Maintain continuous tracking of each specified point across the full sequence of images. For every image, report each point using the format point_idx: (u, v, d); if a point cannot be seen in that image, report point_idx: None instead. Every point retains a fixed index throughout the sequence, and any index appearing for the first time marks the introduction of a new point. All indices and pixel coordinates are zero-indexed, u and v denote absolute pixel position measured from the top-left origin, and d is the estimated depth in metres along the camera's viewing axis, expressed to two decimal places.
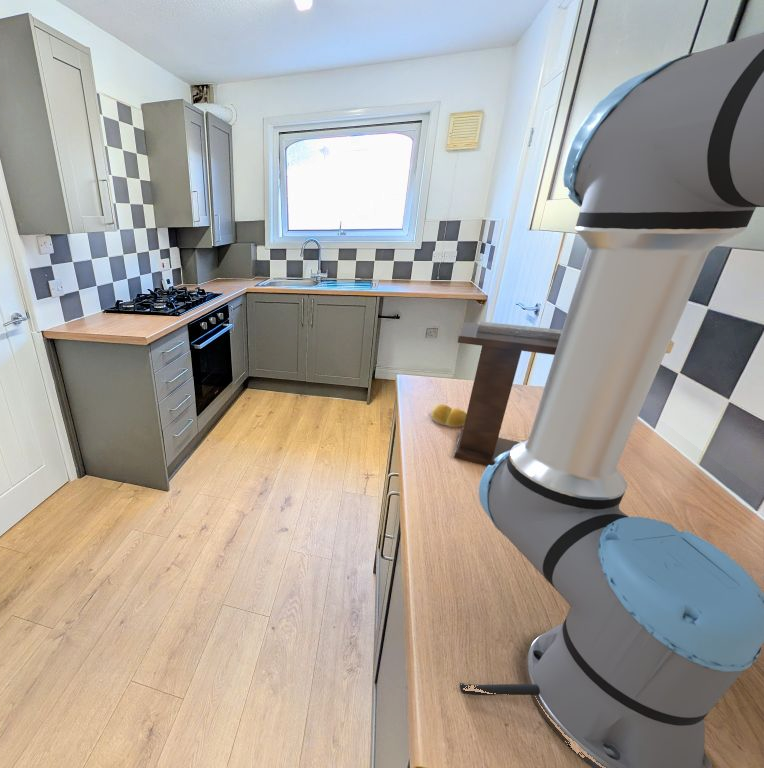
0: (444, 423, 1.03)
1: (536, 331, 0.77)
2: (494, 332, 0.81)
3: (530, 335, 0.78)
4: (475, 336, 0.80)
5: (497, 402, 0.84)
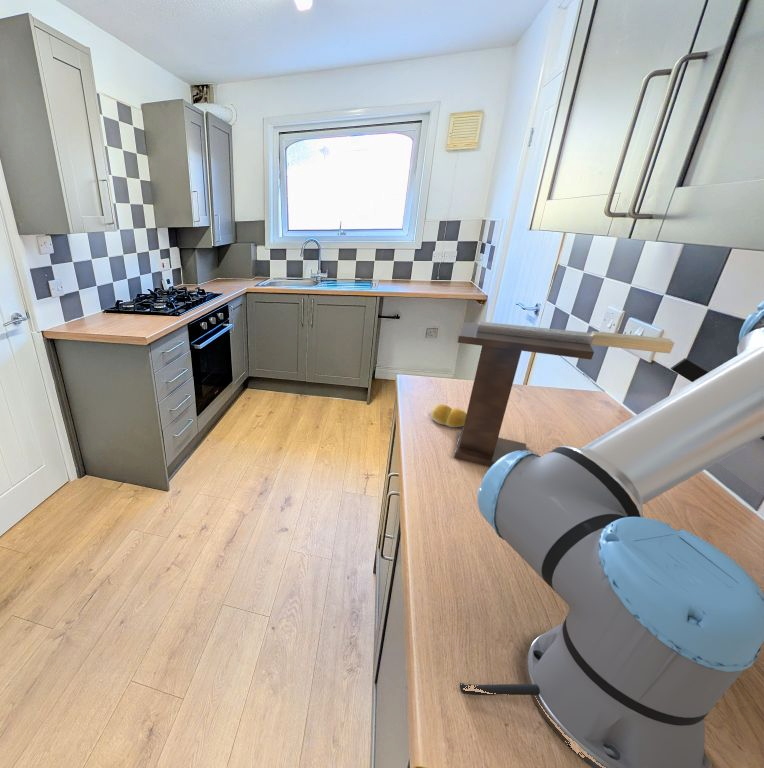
0: (444, 423, 1.03)
1: (536, 331, 0.77)
2: (494, 332, 0.81)
3: (530, 335, 0.78)
4: (475, 336, 0.80)
5: (497, 402, 0.84)
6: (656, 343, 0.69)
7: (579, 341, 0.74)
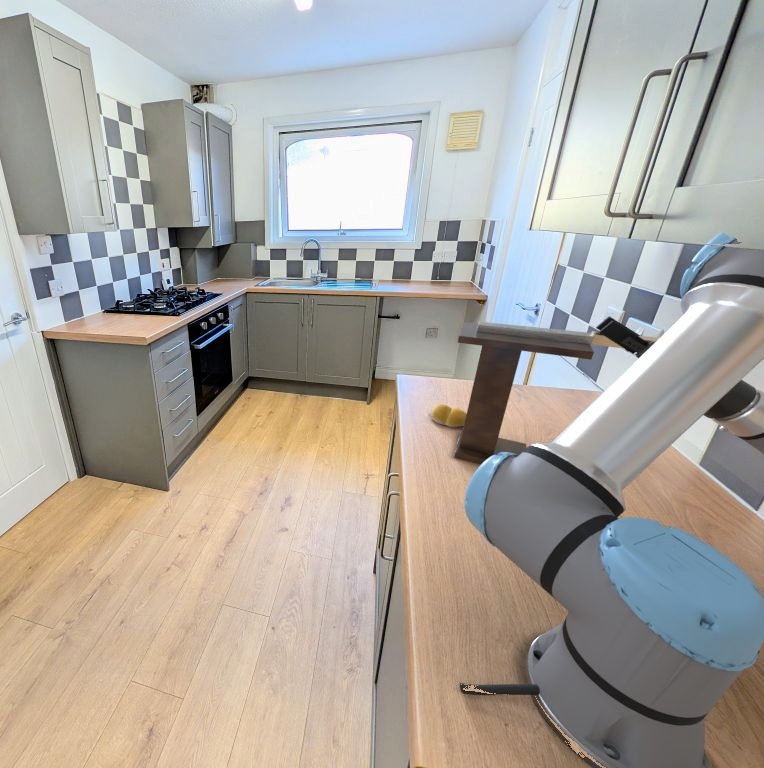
0: (444, 423, 1.03)
1: (536, 331, 0.77)
2: (494, 332, 0.81)
3: (530, 335, 0.78)
4: (475, 336, 0.80)
5: (497, 402, 0.84)
6: None
7: (579, 341, 0.74)
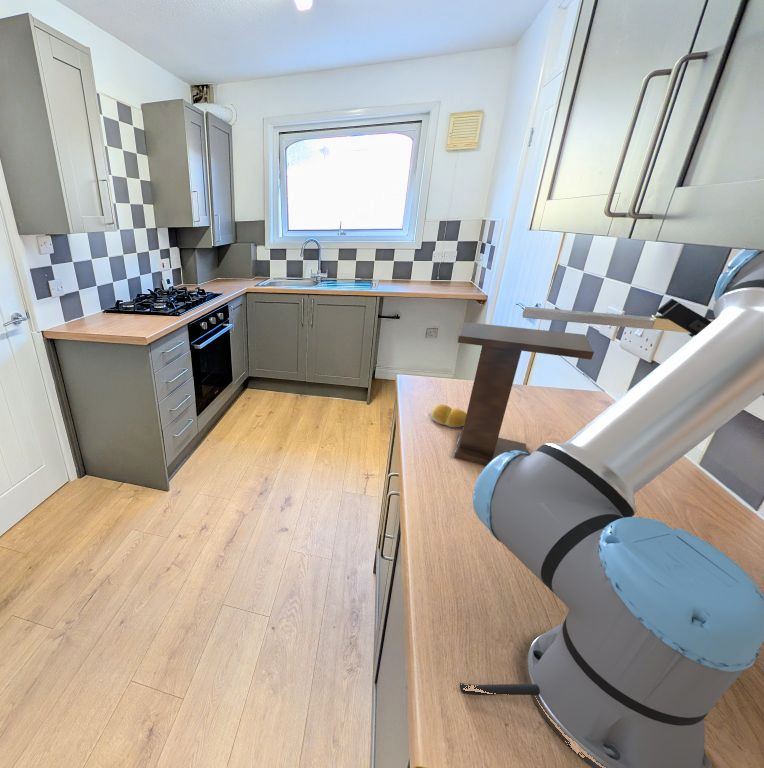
0: (444, 423, 1.03)
1: (590, 316, 0.72)
2: (542, 317, 0.75)
3: (583, 320, 0.72)
4: (475, 336, 0.80)
5: (497, 402, 0.84)
6: None
7: (639, 326, 0.69)
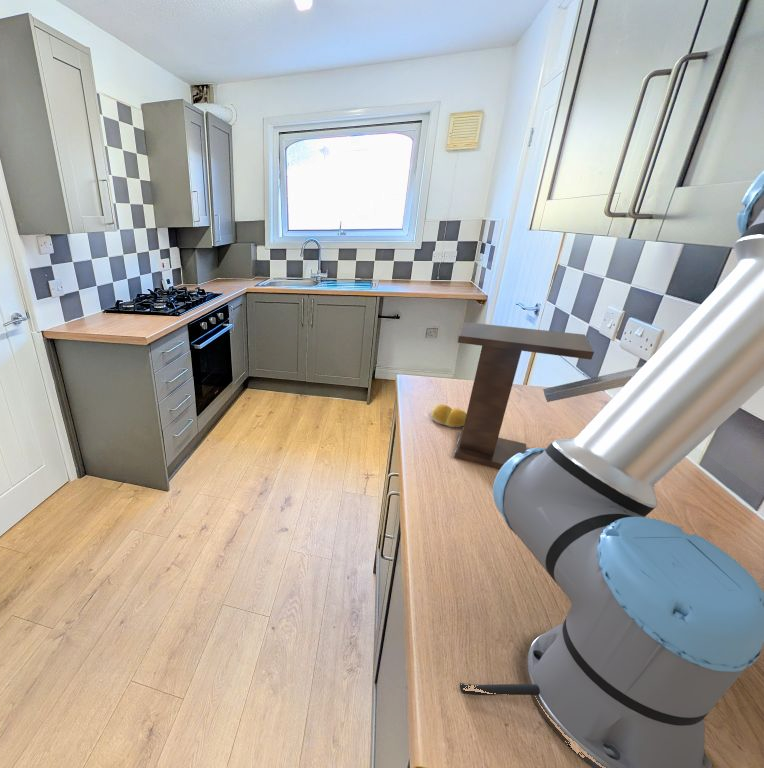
0: (444, 423, 1.03)
1: (618, 379, 0.65)
2: (568, 396, 0.69)
3: (613, 385, 0.65)
4: (475, 336, 0.80)
5: (497, 402, 0.84)
6: None
7: None
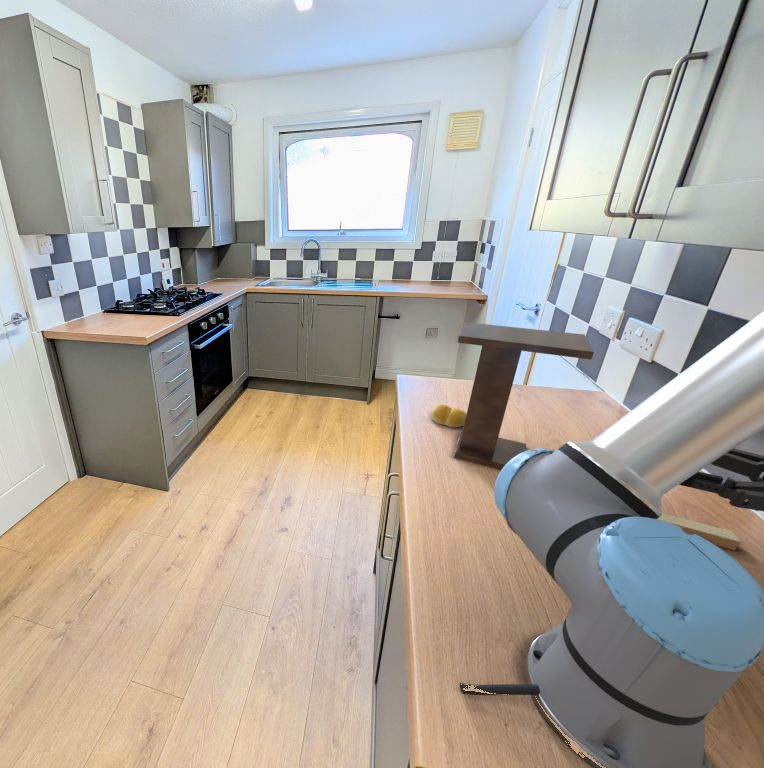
0: (444, 423, 1.03)
1: None
2: None
3: None
4: (475, 336, 0.80)
5: (497, 402, 0.84)
6: (719, 539, 0.65)
7: None
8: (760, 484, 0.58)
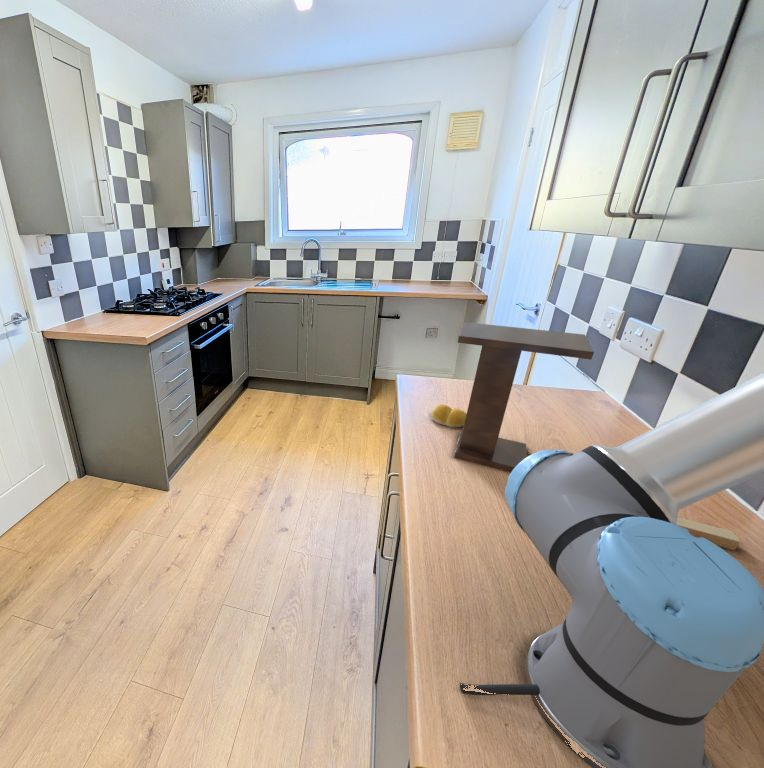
0: (444, 423, 1.03)
1: None
2: None
3: None
4: (475, 336, 0.80)
5: (497, 402, 0.84)
6: (719, 539, 0.65)
7: None
8: None
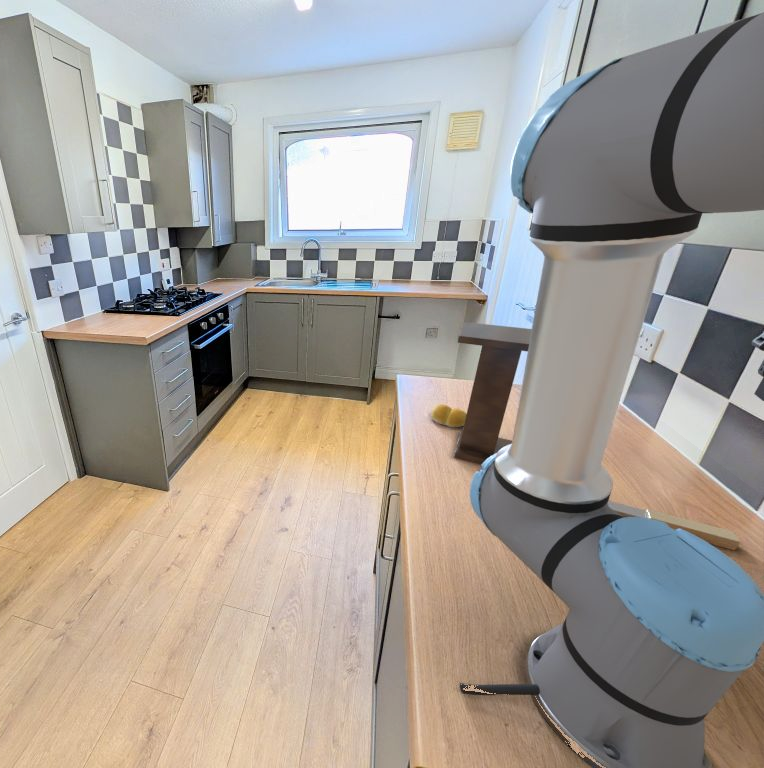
0: (444, 423, 1.03)
1: None
2: None
3: None
4: (475, 336, 0.80)
5: (497, 402, 0.84)
6: (719, 539, 0.65)
7: None
8: None
